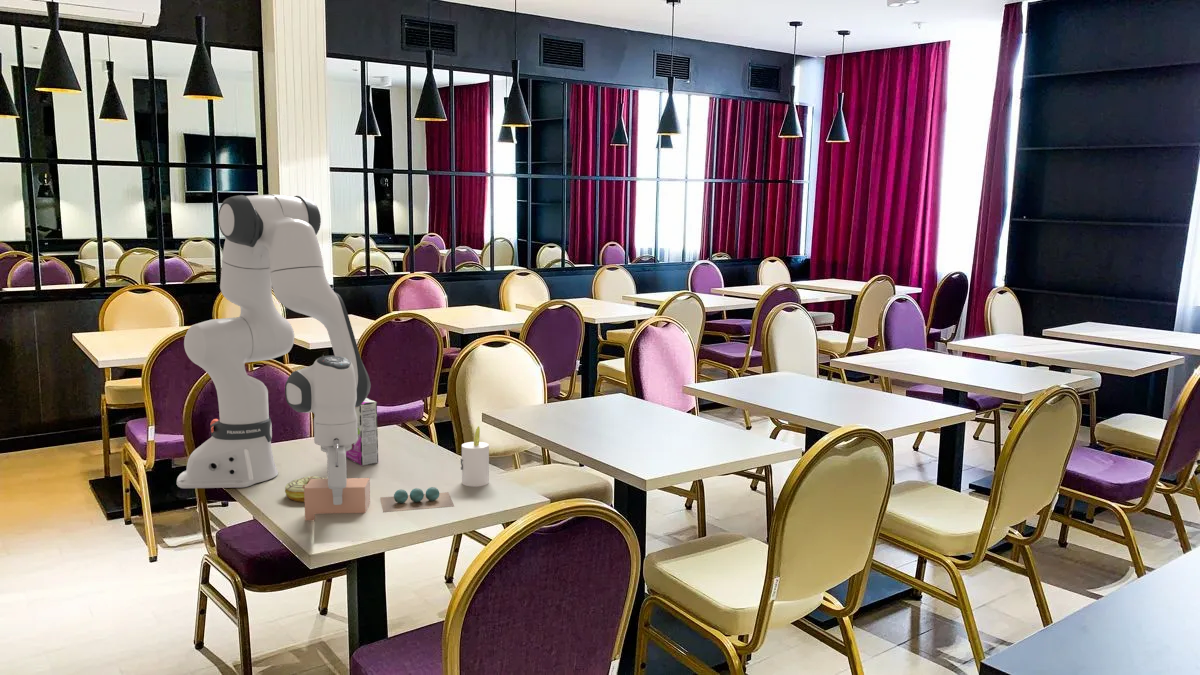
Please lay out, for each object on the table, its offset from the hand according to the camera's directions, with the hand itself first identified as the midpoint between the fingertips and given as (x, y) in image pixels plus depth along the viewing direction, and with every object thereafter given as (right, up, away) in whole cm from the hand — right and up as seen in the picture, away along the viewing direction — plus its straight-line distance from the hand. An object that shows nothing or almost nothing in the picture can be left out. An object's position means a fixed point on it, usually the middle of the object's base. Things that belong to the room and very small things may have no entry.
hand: (337, 496), depth 190 cm
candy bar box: (-6, +2, +42) cm, 42 cm away
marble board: (+16, -4, +5) cm, 17 cm away
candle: (+27, -2, +20) cm, 33 cm away
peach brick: (0, -4, 0) cm, 4 cm away
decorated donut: (-10, -3, +13) cm, 17 cm away
